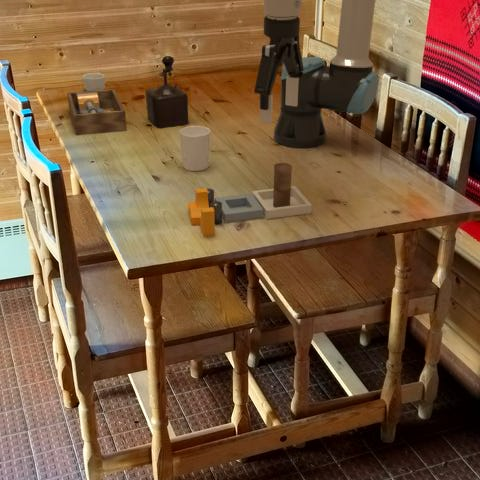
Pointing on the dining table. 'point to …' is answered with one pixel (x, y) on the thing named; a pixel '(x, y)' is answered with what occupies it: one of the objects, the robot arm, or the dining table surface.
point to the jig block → (240, 208)
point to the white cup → (195, 147)
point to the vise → (88, 103)
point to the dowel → (282, 185)
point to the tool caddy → (98, 114)
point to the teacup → (94, 81)
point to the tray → (297, 207)
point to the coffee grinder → (167, 101)
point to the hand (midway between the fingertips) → (278, 114)
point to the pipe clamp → (202, 213)
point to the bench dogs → (215, 206)
